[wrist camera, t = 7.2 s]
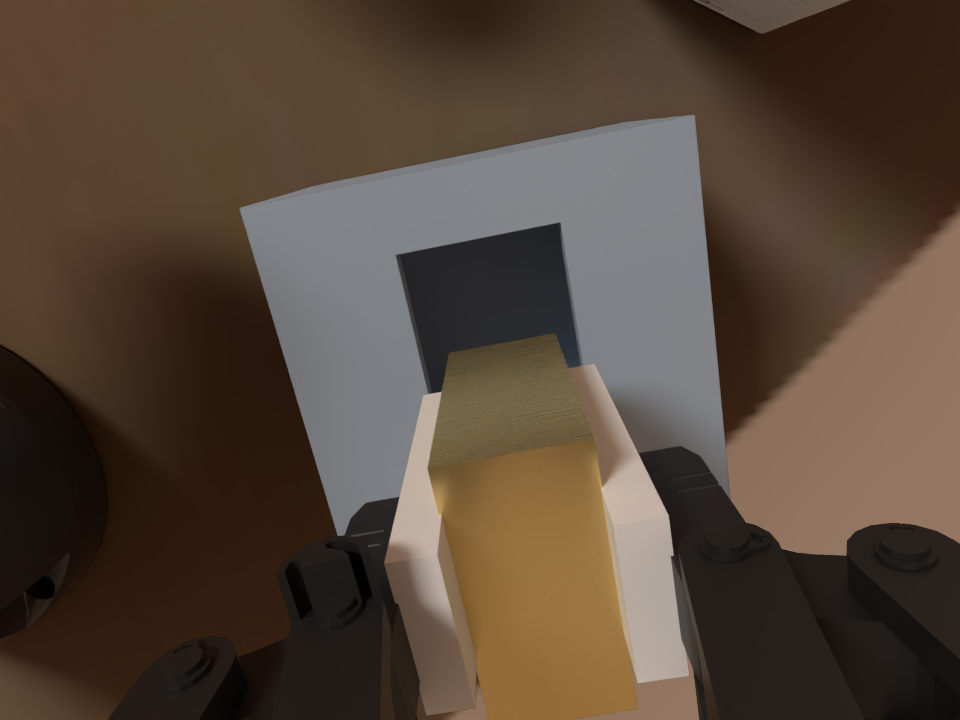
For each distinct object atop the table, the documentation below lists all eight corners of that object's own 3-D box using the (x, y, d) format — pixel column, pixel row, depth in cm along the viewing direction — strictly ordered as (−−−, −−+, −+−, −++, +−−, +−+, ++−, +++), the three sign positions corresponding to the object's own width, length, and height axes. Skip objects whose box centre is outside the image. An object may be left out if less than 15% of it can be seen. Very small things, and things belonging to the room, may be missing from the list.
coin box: (388, 459, 30) (353, 586, 22) (316, 185, 27) (239, 207, 18) (659, 410, 29) (732, 522, 21) (623, 122, 26) (694, 114, 17)
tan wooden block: (490, 538, 17) (491, 731, 12) (449, 353, 16) (427, 468, 10) (587, 521, 17) (638, 709, 11) (555, 332, 16) (594, 438, 10)
